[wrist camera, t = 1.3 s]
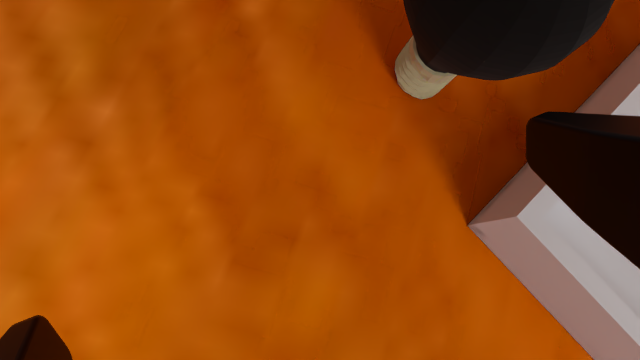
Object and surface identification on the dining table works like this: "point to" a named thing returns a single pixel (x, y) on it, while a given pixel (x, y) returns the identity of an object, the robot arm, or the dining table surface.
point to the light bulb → (491, 39)
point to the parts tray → (571, 244)
